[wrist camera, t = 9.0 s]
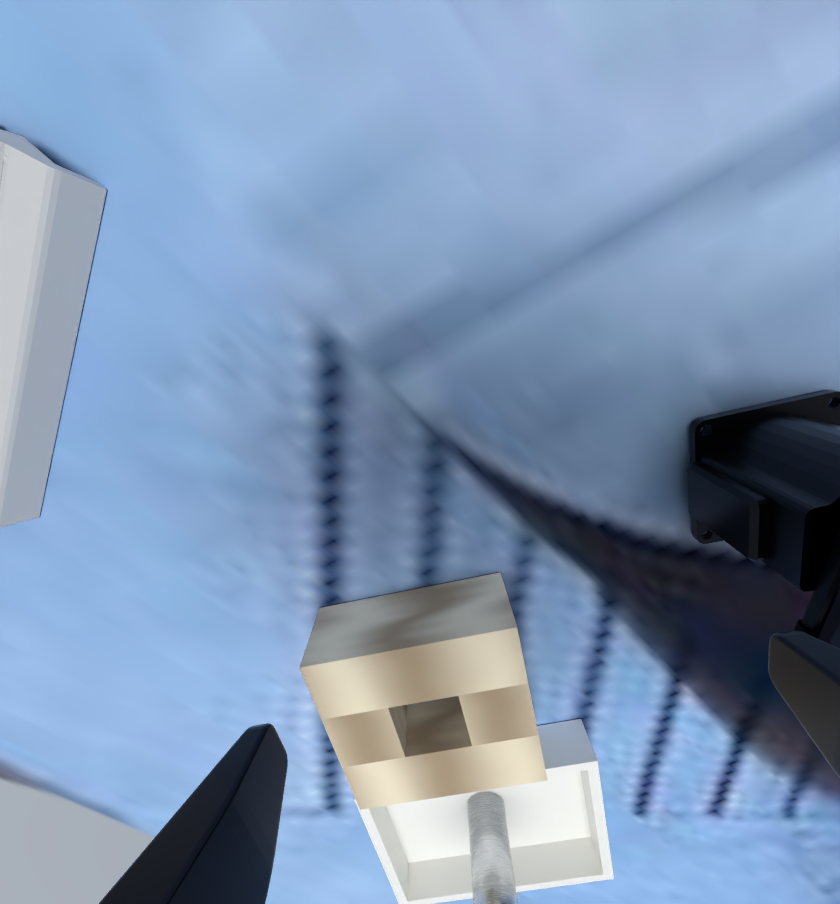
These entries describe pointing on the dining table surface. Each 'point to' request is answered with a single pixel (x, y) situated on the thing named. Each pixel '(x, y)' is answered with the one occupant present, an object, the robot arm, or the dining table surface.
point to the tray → (528, 821)
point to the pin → (490, 850)
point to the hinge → (38, 310)
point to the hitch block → (425, 692)
